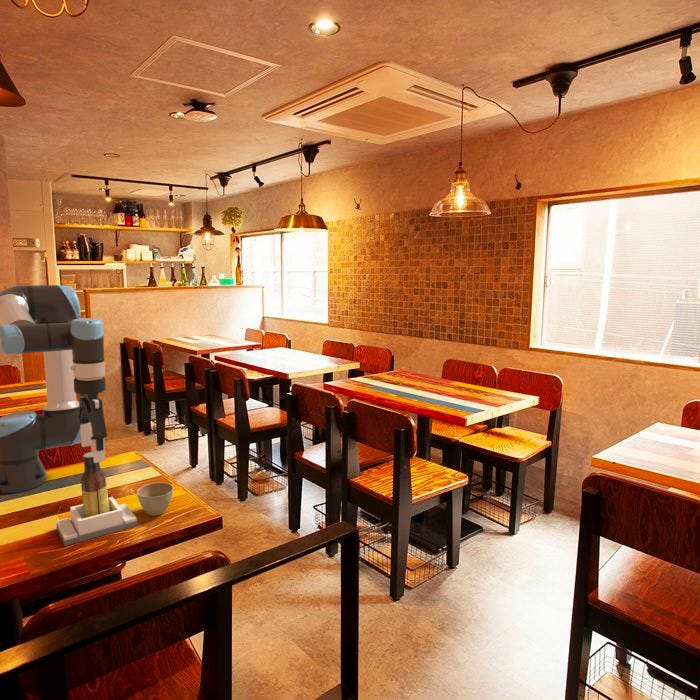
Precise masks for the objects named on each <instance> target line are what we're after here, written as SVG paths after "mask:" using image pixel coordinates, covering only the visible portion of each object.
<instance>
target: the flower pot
mask: <svg viewBox="0 0 700 700" xmlns="http://www.w3.org/2000/svg"><path fill="white" fill-rule="evenodd" d="M173 493H174V486H173V485H172V484H170V483H169V482H151V483H148V484H144V485H142V486H141V487H139V488H138V489H137V492H136V494H137V498H138V501H139V503H140V506H141V508H142V509H143V510H144V512H145V513H146V514H147V515H148V516H151V517H157V516H160V515H163V514H164V513H165V512H166V511H167V509H168V508H169V506H170V504H171V502H172V498H173Z"/></svg>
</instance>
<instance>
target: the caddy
mask: <svg viewBox="0 0 700 700" xmlns="http://www.w3.org/2000/svg"><path fill="white" fill-rule="evenodd" d="M108 504H109V512H107V513H103V514H99V515H95V516H91V517H87V518H84V508H83V503H81V504H78V505H75V506H74V505H73V506H70V509H69V510H70V511H69V512H70V518H69V517H65V518H62V519H59V520H58V519H57V520H56V521H55V523H56V524H55V525H56V530H57V533H58V534H59V536H60V539H61V541H62V543H63V545H64V546H65V547H66V546H70V545H73V543H74V544H77V543H81V542H84V541H88V540H91V539H95V538H98V537H102V536H105V535H109V534H112V533H116V532H120V531H124V530H126V529H130V528H133V527H134V528H135V527H137V526H138V521H137V520H138V518H137V516H136V515H135V514H134V512H132V510H131V509H130V507H128V505H127V504H126V503H122V504H118V501H116V499H115V498H114V497H113V496H110V497H108Z"/></svg>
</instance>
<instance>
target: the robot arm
mask: <svg viewBox="0 0 700 700" xmlns="http://www.w3.org/2000/svg"><path fill="white" fill-rule="evenodd" d="M80 305H81V304H80V300H79V298H78V295H77V292H76V291H75V289H74V288H73V287H72V286H70V285H63V284H62V285H61V284H60V285H59V284H55V285H54V284H52V285H49V284H47V285H46V284H43V285H42V284H39V285H34V284H33V285H26V284H23V285H22V284H21V285H20V284H19V285H14V286H10V287H7V288H5V289H3V290H1V291H0V324H1V325H0V352H1V353H2V354H4V355H21V354H33V353H43V360H44V374H45V386H46V387H45V388H46V389H45V390H46V400H47V403H46V404H45V405H44V406H43V407H42V413H41V414H37V413H36V411H34V410H19V411H16V412H12V413H9V414H6V415H3V416H1V417H0V494H14V493H21V492H26V491H31V490H32V489H36V488H38V487H40V486H42V485H44V484H45V483H46V481H47V472H46V470H45V467H44V466H43V463H42V461H41V459H40V455H39V453H40V452H39V451H42V450H48V449H54V448H59V447H67V446H69V447H70V446H72V445H76V444H81V447H82V448H86V447H91V446H92V452H93V459H94V463H97V462H99V463H103V462H105V461H107V460H106V459H107V458H106V441H105V440H106V439H105V438H107V437H108V433H107V428H106V422H105V415H104V409H103V400H102V399H100V398H99V396H98V395H99V394H101V393H104V392H105V391H106V390H107V386H106V377H105V375H106V360H105V342H104V336H105V335H104V334H105V331H104V326H103V325H104V324H103V321H102V320H101V319H99V318H93V317H92V318H91V317H90V318H88V317H85V318H84V317H82V316H81V313H82V311H81V306H80ZM81 317H82V318H81ZM77 395H79V400H78V399H77Z"/></svg>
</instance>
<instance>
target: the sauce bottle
mask: <svg viewBox="0 0 700 700" xmlns="http://www.w3.org/2000/svg"><path fill="white" fill-rule="evenodd" d="M82 461H83V467H84V472H83V474H82V475H81V478H80V483H81V496H82V504H83V508H84V518H87V517H91V516H95V515H99V514H103V513H107V512H109V504H108V498H109V497H108V486H107V485H108V484H107V478H106V474H105V472H104V471H103V470H102V468H101V465H100V462H97V463H94V459H93V451H90V452H86V453H84V454H83V455H82Z"/></svg>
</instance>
